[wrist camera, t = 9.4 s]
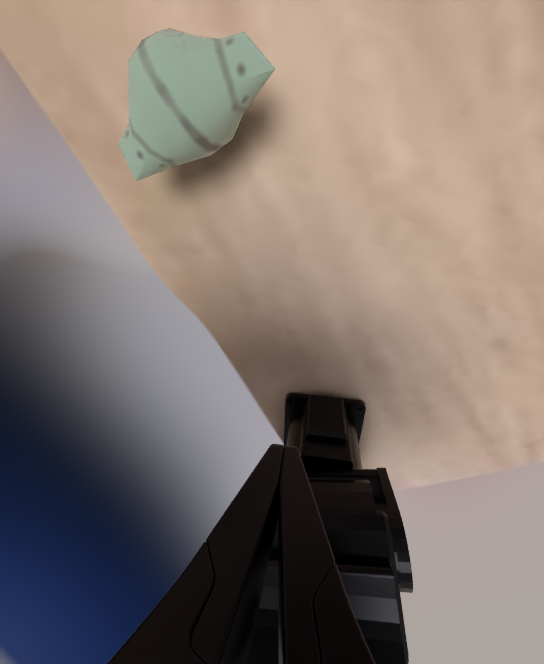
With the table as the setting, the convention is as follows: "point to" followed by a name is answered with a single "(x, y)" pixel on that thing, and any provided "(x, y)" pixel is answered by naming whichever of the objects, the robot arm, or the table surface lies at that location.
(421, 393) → the table surface
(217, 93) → the pale green bulging piece
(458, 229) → the table surface
